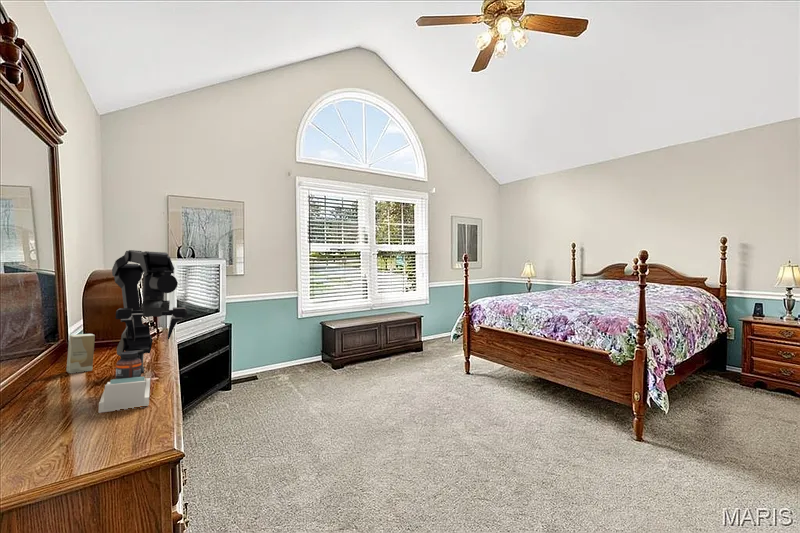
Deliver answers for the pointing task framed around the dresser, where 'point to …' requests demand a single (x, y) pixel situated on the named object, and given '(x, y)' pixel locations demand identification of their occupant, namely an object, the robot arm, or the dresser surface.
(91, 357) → the skincare box
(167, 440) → the dresser surface
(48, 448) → the dresser surface
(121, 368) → the supplement bottle
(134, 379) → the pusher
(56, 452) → the dresser surface
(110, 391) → the lane
